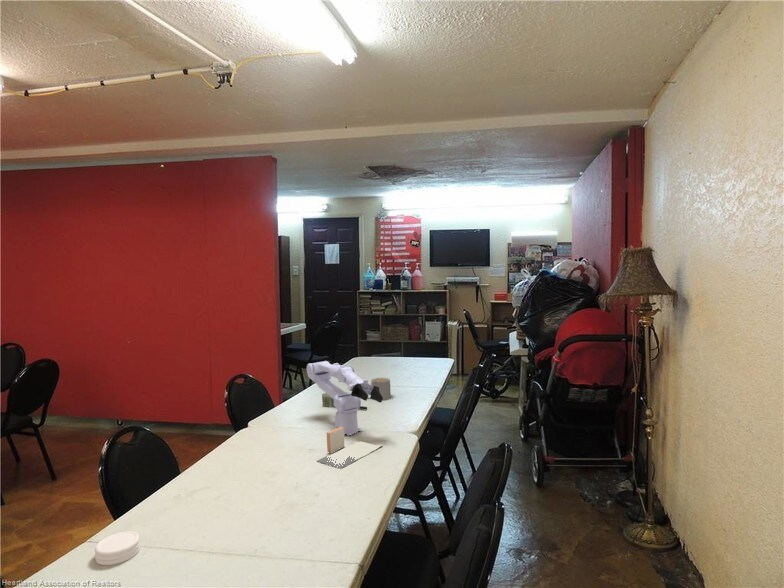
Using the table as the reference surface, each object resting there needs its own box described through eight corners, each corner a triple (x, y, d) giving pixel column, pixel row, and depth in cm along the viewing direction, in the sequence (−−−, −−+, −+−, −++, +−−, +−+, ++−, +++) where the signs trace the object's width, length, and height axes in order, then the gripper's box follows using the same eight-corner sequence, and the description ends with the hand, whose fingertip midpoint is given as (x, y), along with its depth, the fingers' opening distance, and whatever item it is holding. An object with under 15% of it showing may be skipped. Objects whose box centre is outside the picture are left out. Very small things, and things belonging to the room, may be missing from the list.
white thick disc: (86, 562, 120) (85, 548, 120) (121, 540, 129) (120, 527, 129) (115, 570, 116) (114, 556, 116) (149, 547, 126) (148, 534, 125)
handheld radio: (325, 405, 248) (368, 409, 237) (321, 407, 245) (365, 411, 235) (324, 392, 247) (367, 396, 237) (321, 394, 244) (364, 398, 234)
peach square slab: (327, 453, 184) (326, 432, 183) (341, 446, 190) (340, 426, 190) (330, 454, 183) (329, 433, 182) (344, 447, 189) (344, 427, 189)
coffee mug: (391, 395, 261) (391, 377, 260) (389, 400, 251) (388, 381, 250) (367, 395, 262) (366, 377, 262) (364, 400, 252) (363, 382, 252)
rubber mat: (316, 461, 176) (316, 460, 176) (359, 440, 195) (359, 440, 195) (341, 469, 169) (341, 468, 169) (382, 446, 188) (382, 445, 188)
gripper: (346, 372, 194) (364, 387, 184) (373, 377, 203) (391, 392, 193) (339, 388, 194) (357, 404, 184) (366, 392, 204) (384, 407, 193)
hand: (374, 399), depth 189 cm, fingers open, 7 cm apart
